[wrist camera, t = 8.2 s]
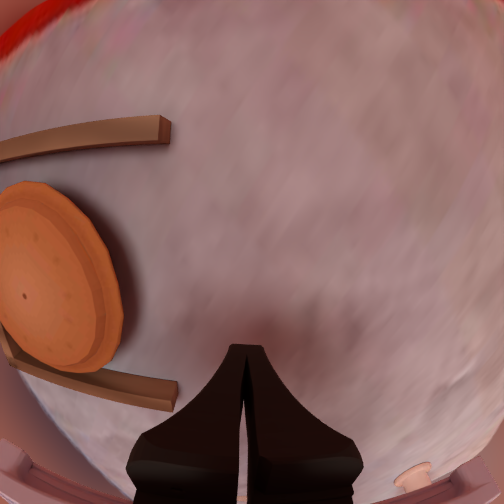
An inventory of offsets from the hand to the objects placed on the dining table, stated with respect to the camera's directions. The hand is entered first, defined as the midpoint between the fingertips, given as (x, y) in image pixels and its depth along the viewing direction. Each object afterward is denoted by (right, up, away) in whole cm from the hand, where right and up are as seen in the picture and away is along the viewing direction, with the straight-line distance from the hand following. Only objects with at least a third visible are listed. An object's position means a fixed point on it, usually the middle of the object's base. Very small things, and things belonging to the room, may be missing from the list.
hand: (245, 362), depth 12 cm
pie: (-16, +3, +8) cm, 18 cm away
